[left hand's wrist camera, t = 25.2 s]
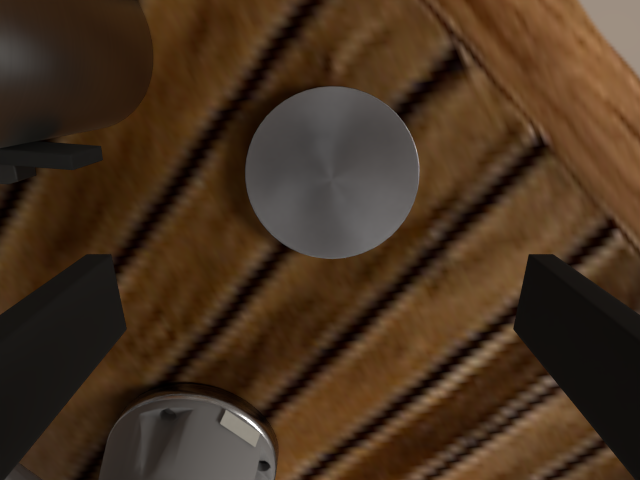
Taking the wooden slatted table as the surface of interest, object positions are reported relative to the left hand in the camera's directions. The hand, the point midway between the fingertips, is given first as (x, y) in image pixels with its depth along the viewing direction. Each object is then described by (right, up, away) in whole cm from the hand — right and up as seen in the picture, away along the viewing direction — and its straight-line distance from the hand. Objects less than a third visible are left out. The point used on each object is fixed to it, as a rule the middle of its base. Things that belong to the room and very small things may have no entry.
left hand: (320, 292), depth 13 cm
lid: (+1, +6, +13) cm, 15 cm away
